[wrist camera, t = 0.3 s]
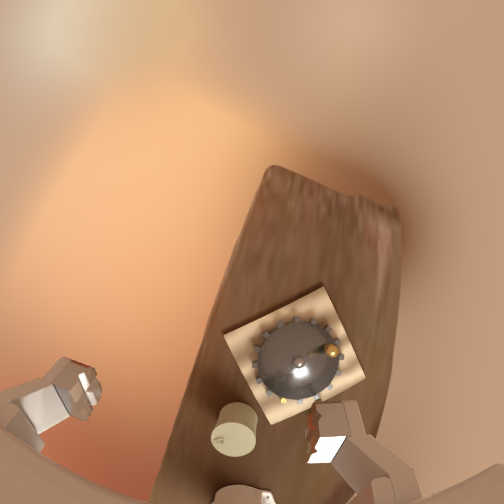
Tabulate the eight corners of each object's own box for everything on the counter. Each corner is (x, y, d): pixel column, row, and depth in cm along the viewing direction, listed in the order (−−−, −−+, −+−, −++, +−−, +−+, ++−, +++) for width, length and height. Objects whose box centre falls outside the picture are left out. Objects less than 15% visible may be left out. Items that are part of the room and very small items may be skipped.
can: (215, 404, 57) (205, 425, 45) (253, 399, 57) (250, 420, 45) (223, 435, 56) (216, 459, 44) (260, 431, 56) (259, 455, 44)
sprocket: (354, 375, 56) (364, 383, 49) (275, 414, 55) (277, 427, 48) (319, 300, 59) (326, 300, 52) (236, 340, 58) (233, 345, 52)
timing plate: (364, 376, 57) (370, 381, 53) (270, 423, 56) (271, 430, 52) (322, 286, 61) (326, 285, 57) (223, 334, 60) (221, 337, 56)
